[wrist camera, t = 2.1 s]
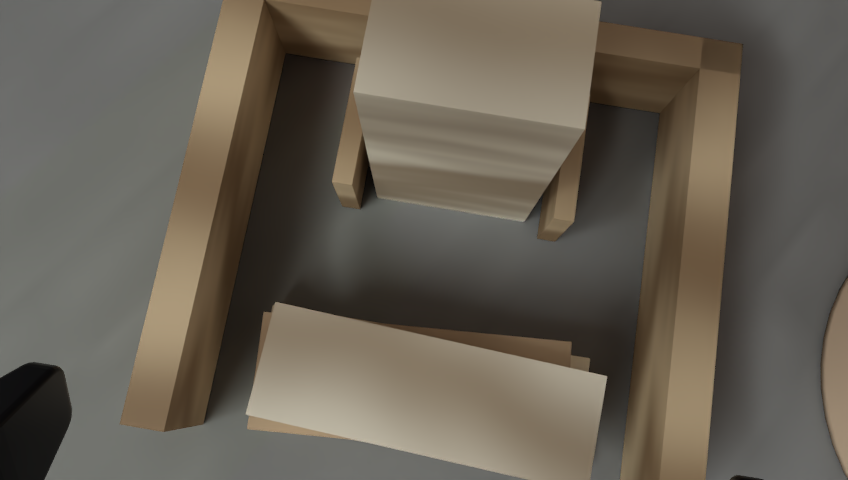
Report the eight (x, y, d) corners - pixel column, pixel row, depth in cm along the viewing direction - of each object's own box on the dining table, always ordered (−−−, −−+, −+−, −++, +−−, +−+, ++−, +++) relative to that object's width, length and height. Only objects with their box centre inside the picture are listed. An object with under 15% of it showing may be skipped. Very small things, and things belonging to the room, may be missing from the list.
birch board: (524, 222, 24) (585, 129, 15) (377, 197, 24) (353, 91, 15) (536, 137, 25) (601, 1, 16) (392, 114, 25) (378, -34, 16)
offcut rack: (656, 503, 22) (701, 525, 19) (166, 417, 23) (119, 424, 19) (697, 91, 25) (743, 44, 21) (258, 22, 25) (232, -37, 22)
